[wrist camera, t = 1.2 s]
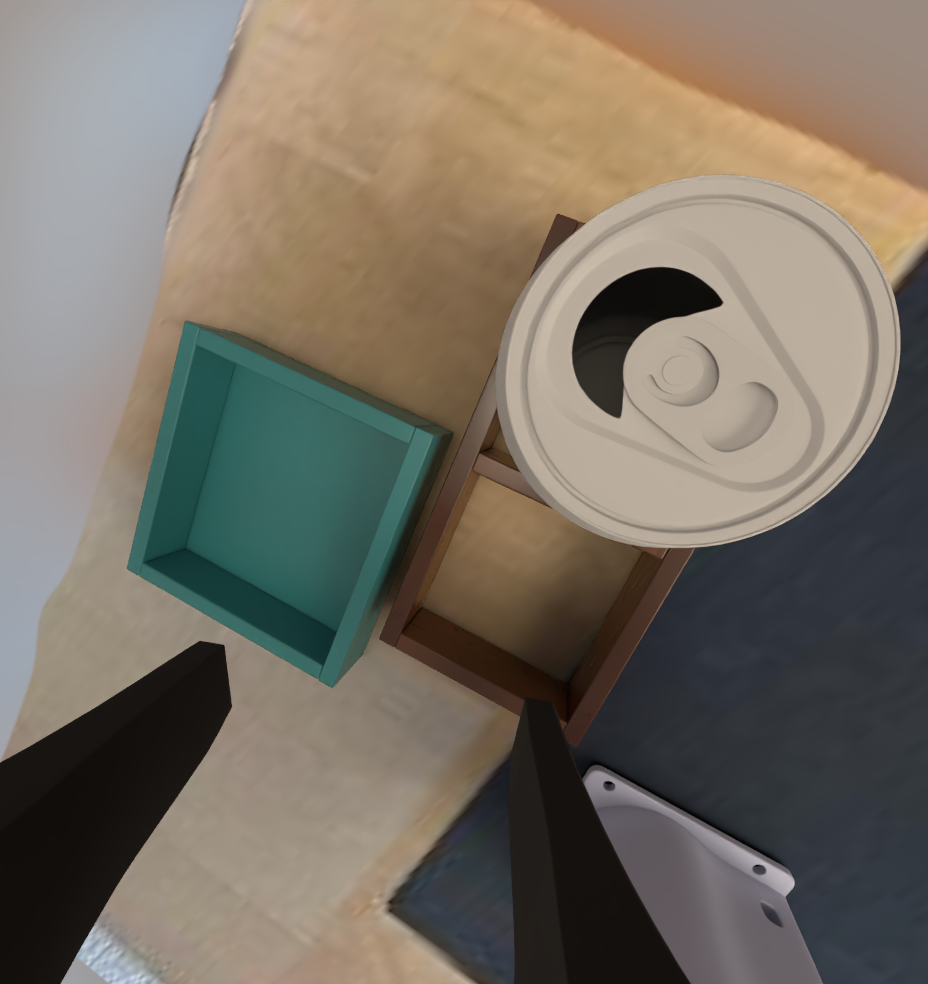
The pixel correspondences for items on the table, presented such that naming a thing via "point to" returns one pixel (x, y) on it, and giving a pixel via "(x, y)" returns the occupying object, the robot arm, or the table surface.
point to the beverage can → (698, 362)
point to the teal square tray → (281, 499)
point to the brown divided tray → (483, 661)
